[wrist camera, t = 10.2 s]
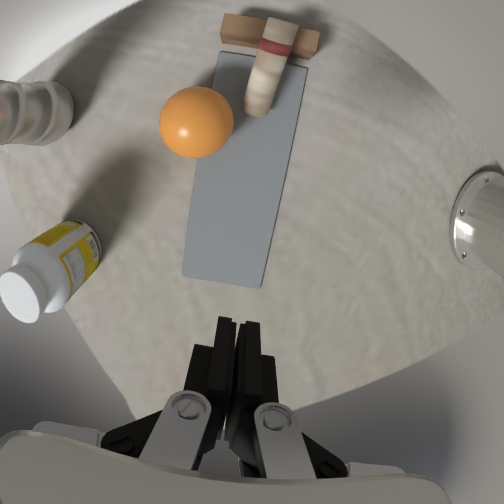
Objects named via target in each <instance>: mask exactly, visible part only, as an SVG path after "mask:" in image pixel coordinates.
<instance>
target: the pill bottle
mask: <svg viewBox="0 0 504 504" xmlns="http://www.w3.org/2000/svg"><path fill="white" fill-rule="evenodd" d="M100 260H101V246H100V242H99V239H98V237H97V235H96V234H95V232H94V231H93V230H92V228H91V227H90V226H88V225H87V224H86V223H84V222H82V221H79V220H74V219H70V220H66V221H63V222H61V223H60V224H58V225H56V226H55V227H53V228H51V229H50V230H48V231H46V232H45V233H43V234H41V235H40V236H38V237H37V238H35V239H33V240H32V241H30V242H29V243H27V244H26V245H24V246H23V247H22V248H20V249H19V250H18V252H17V253H16V254H15V257H14V259H13V262H12V267H11V268H9V269H8V270H7V271H6V272H4V273H3V275H2V276H1V278H0V295H1V298H2V301H3V302H4V304H5V306H6V308H7V309H8V310H9V312H10V313H11V314H12V315H13V316H14V317H15V318H17V319H18V320H20V321H22V322H25V323H33V322H35V321H36V320H37V319H38V318H39V317H40V316H41V315H42V314H43V313H44V312H47V313H48V312H54V311H57V310H59V309H60V308H61V307H63V306H64V305H65V303H66V302H67V301H68V300H69V299H70V298H71V297H72V296H73V294H74V293H75V292H76V291H77V290H78V289H79V288H80V287H81V285H82V284H83V283H84V282H85V281H86V280H87V279H88V278H89V277H90V276H91V275H92V273H93V272H94V271H95V270H96V269H97V267H98V265H99V263H100Z"/></svg>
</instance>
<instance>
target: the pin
mask: <svg viewBox="0 0 504 504" xmlns="http://www.w3.org/2000/svg"><path fill="white" fill-rule="evenodd" d="M298 27H299V25H297V24H295V23H292V22H289V21H286V20H282V19H278V18H274V17H268V20H267V23H266V26H265V29H264V32H263V35H262V36H261V39H260V42H259V46H258V51H257V54H256V58H255V61H254V64H253V68H252V71H251V74H250V78H249V81H248V84H247V88H246V91H245V95H244V98H243V102H242V105H241V109H242V110H243V111H244V112H245V113H247V114H249V115H252V116H257V117H266V116H267V115H268V113H269V110H270V107H271V104H272V101H273V99H274V96H275V93H276V90H277V87H278V84H279V81H280V78H281V75H282V72H283V69H284V67H285V64H286V61H287V58H288V56H289V54H290V51H291V49H292V46H293V45H292V44H293V41H294V38H295V36H296V33H297V30H298Z"/></svg>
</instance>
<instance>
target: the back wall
mask: <svg viewBox="0 0 504 504" xmlns="http://www.w3.org/2000/svg"><path fill="white" fill-rule="evenodd" d="M266 23H267V20H266V19H260V18H255V17H248V16H242V15H234V14H226V13H225V14H224V18H223V22H222V26H221V30H220V36H221V41H222V43H225V44H233V45H239V46H246V47H252V48H257V49H258V46H259V42H260V39H261V36H262V35H263V32H264V29H265V26H266ZM319 35H320V32H317V31H314V30H310V29H306V28H302V27H298V30H297V33H296V36H295V38H294V41H293V44H292V45H293V46H292V49H291V51H290V54H289V55H291V56H295V57H299V58H303V59H307V60H309V59H310V58H311V57H312V56H313V55H314V54H315V52H316V50H317V45H318V40H319Z"/></svg>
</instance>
